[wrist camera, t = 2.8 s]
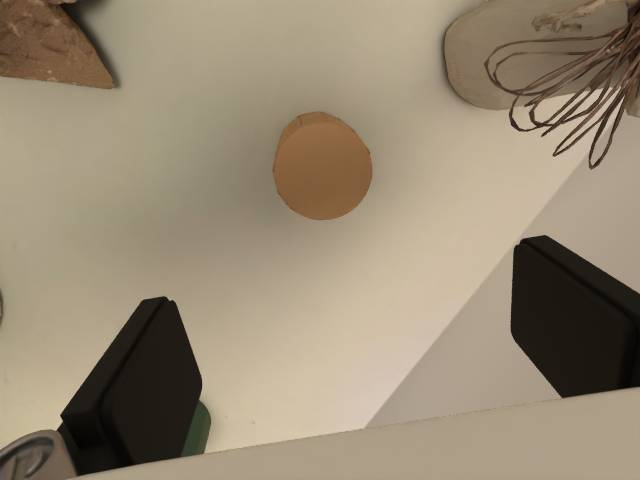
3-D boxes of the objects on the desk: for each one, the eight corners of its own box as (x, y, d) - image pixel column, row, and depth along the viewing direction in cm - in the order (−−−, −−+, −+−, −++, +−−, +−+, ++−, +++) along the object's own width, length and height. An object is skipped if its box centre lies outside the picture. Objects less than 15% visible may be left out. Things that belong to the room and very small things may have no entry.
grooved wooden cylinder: (286, 195, 29) (284, 227, 22) (270, 119, 27) (264, 132, 20) (358, 182, 29) (377, 211, 22) (348, 106, 27) (366, 114, 20)
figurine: (551, 82, 27) (1119, 79, 8) (410, 136, 28) (645, 244, 9) (531, -81, 23) (1436, -700, 5) (369, -13, 24) (620, -327, 6)
